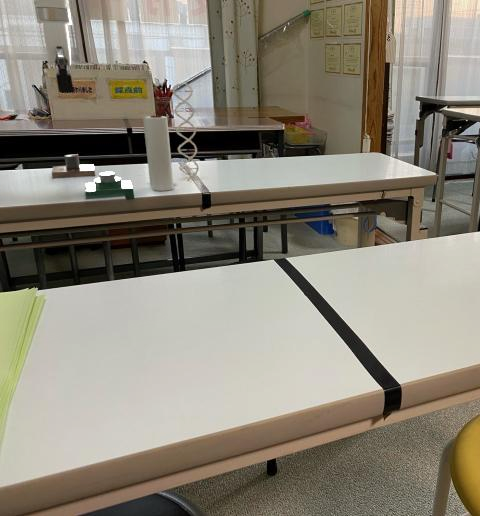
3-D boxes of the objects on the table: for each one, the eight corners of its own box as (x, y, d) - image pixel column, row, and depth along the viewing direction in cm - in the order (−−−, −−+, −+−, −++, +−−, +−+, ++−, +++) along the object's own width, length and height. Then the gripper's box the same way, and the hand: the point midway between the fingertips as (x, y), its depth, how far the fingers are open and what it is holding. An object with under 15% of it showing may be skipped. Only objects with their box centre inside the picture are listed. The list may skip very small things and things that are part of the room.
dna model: (196, 181, 166) (188, 83, 155) (177, 180, 166) (167, 83, 155) (202, 177, 172) (195, 82, 161) (183, 176, 172) (175, 82, 162)
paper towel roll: (175, 190, 154) (169, 117, 147) (154, 192, 151) (146, 117, 144) (170, 185, 160) (164, 114, 152) (150, 187, 157) (142, 115, 150)
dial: (66, 169, 163) (64, 156, 162) (66, 167, 166) (64, 154, 165) (80, 168, 165) (78, 155, 163) (80, 166, 168) (78, 153, 167)
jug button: (100, 182, 141) (99, 175, 140) (99, 179, 145) (98, 172, 144) (116, 181, 143) (115, 174, 142) (115, 178, 146) (114, 171, 146)
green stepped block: (87, 203, 139) (84, 184, 137) (86, 194, 147) (83, 177, 145) (134, 199, 144) (132, 181, 142) (131, 191, 152) (129, 174, 150)
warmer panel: (53, 182, 160) (51, 172, 159) (54, 175, 168) (52, 166, 167) (95, 179, 165) (94, 169, 164) (94, 173, 173) (93, 163, 172)
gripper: (37, 18, 131) (49, 89, 137) (35, 14, 116) (48, 93, 123) (70, 20, 134) (81, 89, 140) (72, 16, 120) (83, 93, 126)
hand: (66, 91), depth 131 cm, fingers open, 9 cm apart
